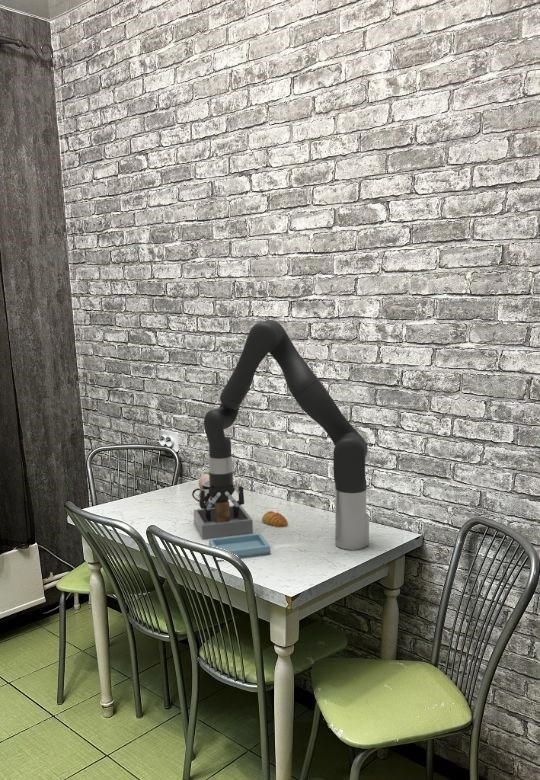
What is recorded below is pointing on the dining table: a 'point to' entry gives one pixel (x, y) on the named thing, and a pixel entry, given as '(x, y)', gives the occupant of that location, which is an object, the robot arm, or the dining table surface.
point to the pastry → (274, 519)
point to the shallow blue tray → (243, 545)
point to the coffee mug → (206, 486)
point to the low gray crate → (223, 524)
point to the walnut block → (222, 511)
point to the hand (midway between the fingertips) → (222, 518)
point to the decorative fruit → (203, 479)
